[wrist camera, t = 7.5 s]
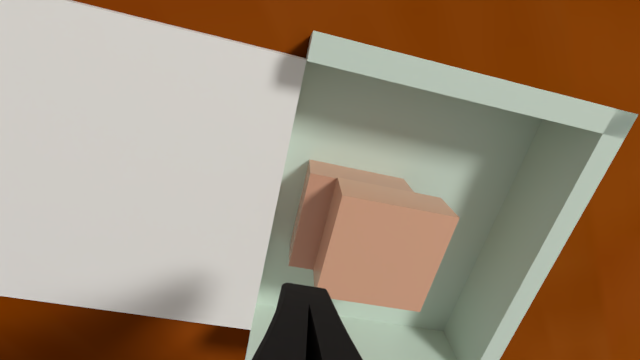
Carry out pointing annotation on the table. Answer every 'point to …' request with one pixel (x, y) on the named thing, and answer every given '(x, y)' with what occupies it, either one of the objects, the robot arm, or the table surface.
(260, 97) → the board
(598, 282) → the table surface
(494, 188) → the box
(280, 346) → the robot arm
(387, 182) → the tile
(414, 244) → the tile
